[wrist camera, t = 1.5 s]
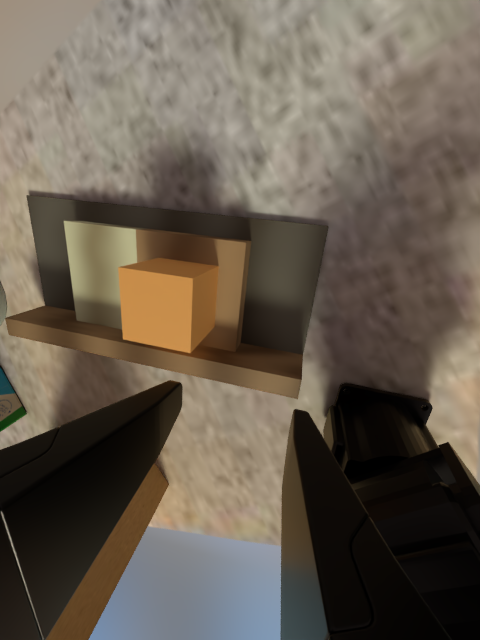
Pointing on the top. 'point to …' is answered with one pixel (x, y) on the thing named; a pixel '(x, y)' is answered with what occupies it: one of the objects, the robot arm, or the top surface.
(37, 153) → the top surface
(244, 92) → the top surface
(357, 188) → the top surface
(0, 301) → the spray bottle
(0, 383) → the milk carton
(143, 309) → the block
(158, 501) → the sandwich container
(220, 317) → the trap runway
